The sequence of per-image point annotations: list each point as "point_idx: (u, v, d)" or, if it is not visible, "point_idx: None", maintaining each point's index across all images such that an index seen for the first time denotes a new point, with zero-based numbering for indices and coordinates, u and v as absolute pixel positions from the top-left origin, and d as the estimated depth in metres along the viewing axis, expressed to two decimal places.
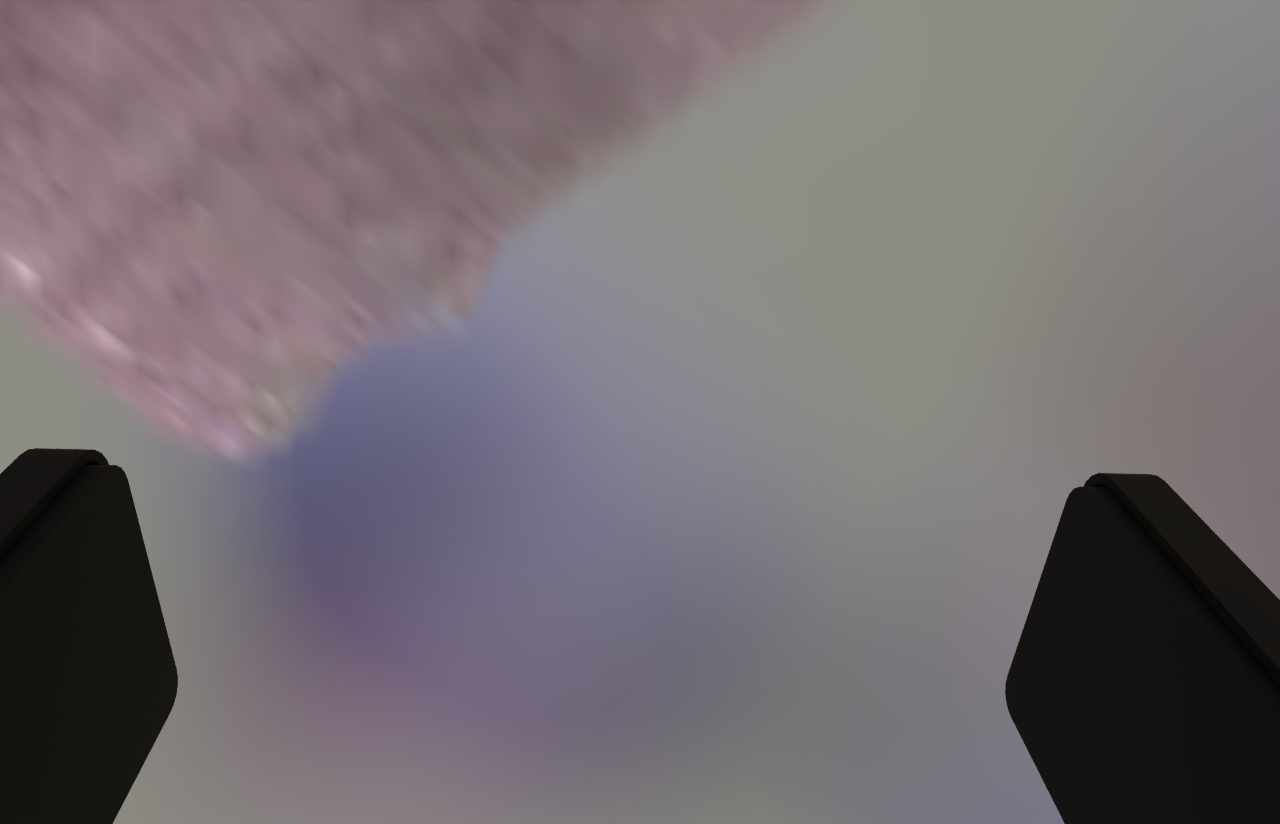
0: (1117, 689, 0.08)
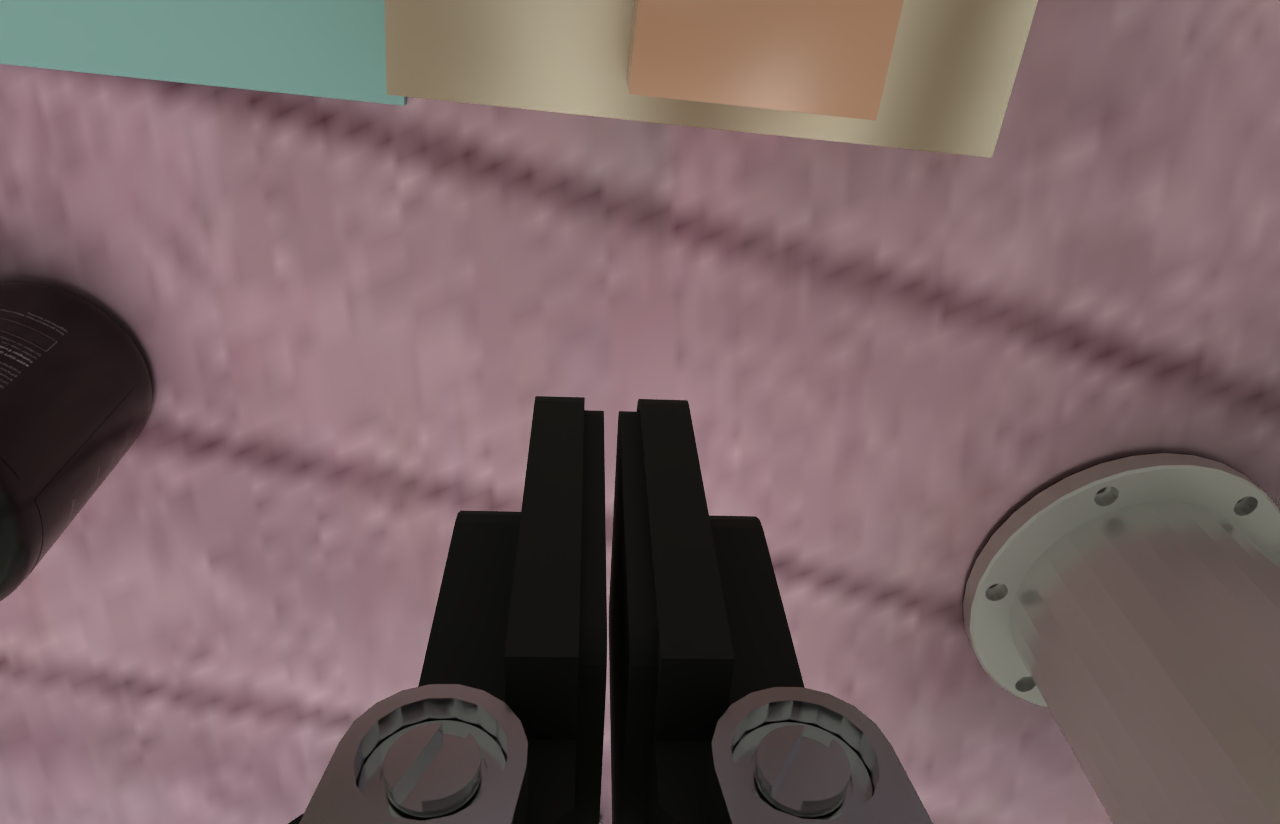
0: (617, 589, 0.09)
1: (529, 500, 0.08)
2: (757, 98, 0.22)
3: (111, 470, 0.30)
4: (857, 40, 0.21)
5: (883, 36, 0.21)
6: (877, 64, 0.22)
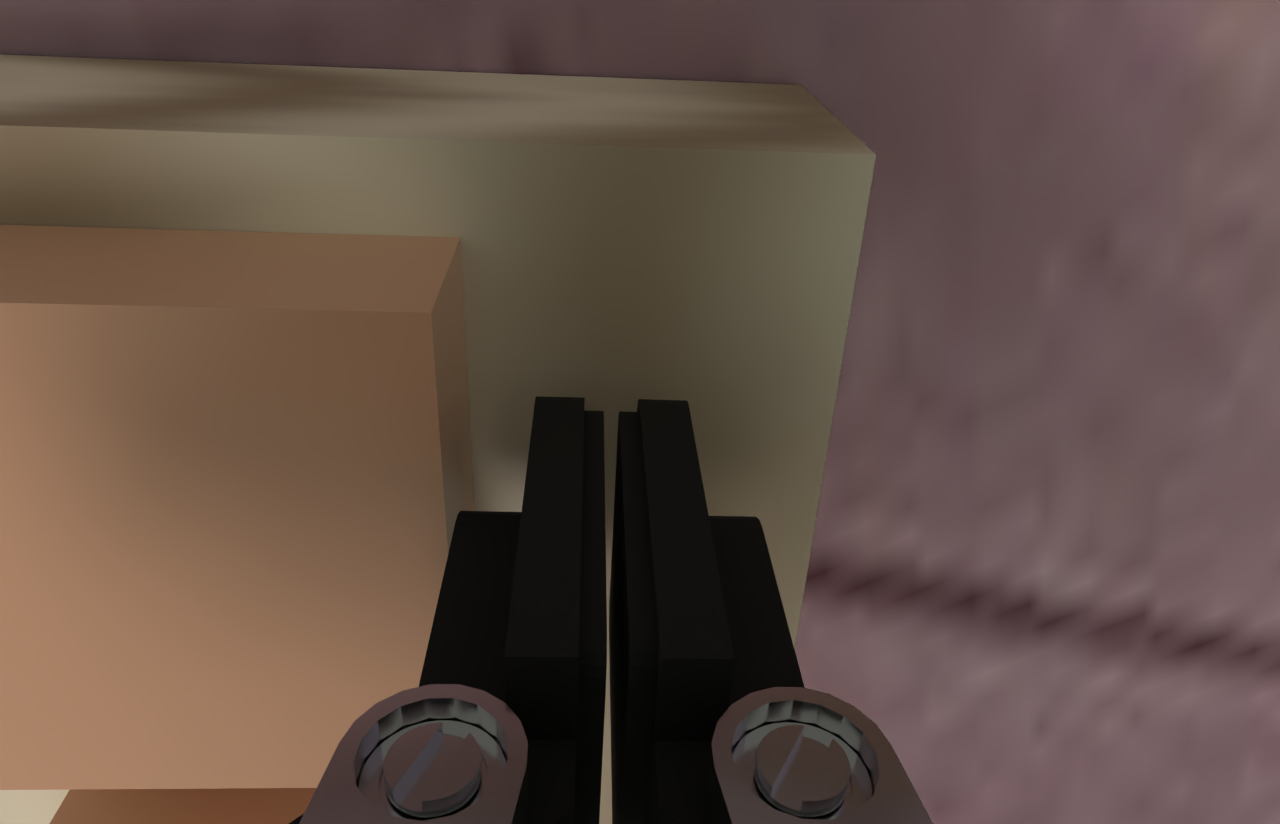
0: (617, 589, 0.09)
1: (529, 500, 0.08)
2: None
3: None
4: None
5: None
6: None
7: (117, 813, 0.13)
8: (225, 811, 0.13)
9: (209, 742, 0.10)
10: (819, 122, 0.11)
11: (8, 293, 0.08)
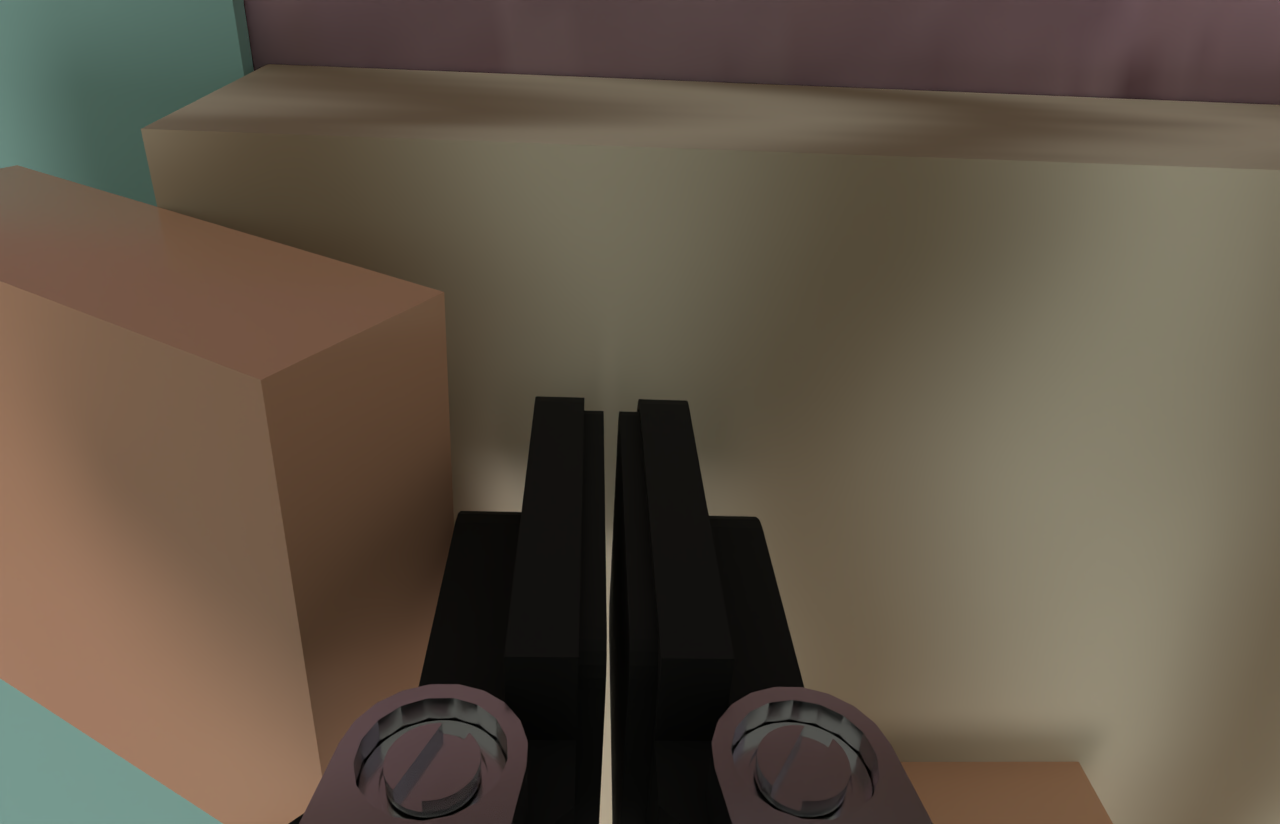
0: (617, 589, 0.09)
1: (529, 500, 0.08)
2: None
3: None
4: None
5: None
6: None
7: None
8: None
9: (143, 734, 0.10)
10: None
11: None
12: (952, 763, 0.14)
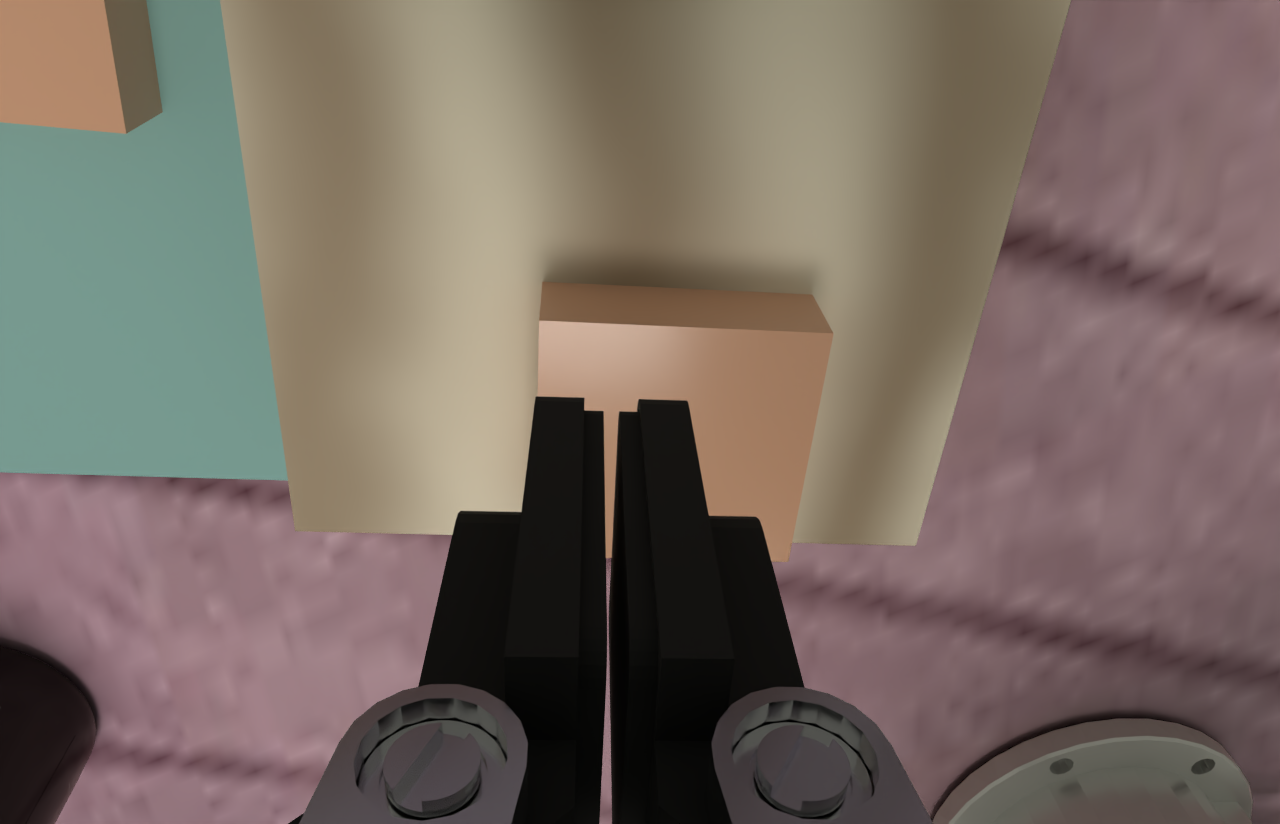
0: (617, 589, 0.09)
1: (529, 500, 0.08)
2: None
3: (55, 820, 0.30)
4: (762, 502, 0.21)
5: (788, 497, 0.21)
6: (784, 518, 0.21)
7: (580, 297, 0.20)
8: (648, 300, 0.20)
9: None
10: None
11: None
12: (725, 290, 0.20)
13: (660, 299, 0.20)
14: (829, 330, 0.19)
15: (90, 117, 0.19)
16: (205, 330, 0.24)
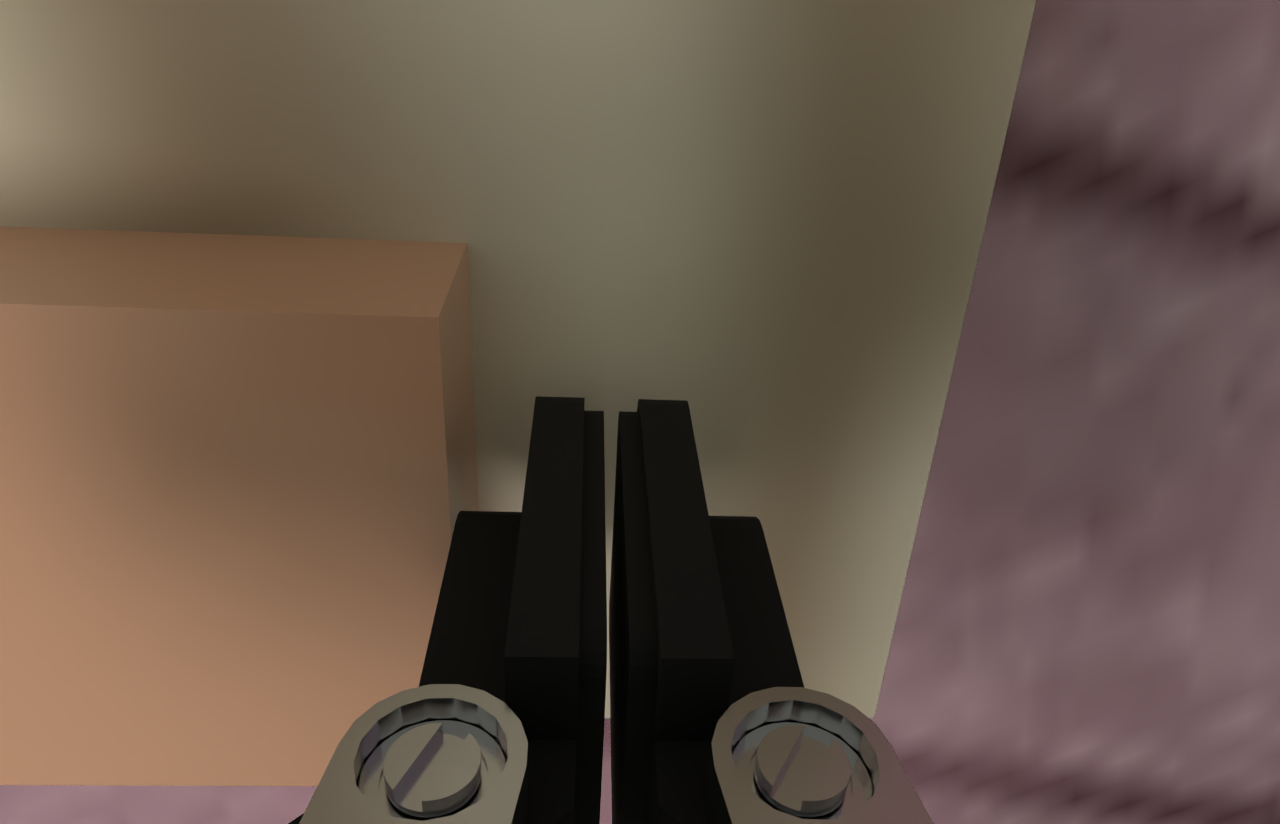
0: (617, 589, 0.09)
1: (529, 500, 0.08)
2: (206, 773, 0.11)
3: None
4: (379, 678, 0.10)
5: None
6: None
7: None
8: (64, 255, 0.09)
9: None
10: None
11: None
12: (277, 236, 0.10)
13: (100, 252, 0.09)
14: (435, 310, 0.08)
15: None
16: None
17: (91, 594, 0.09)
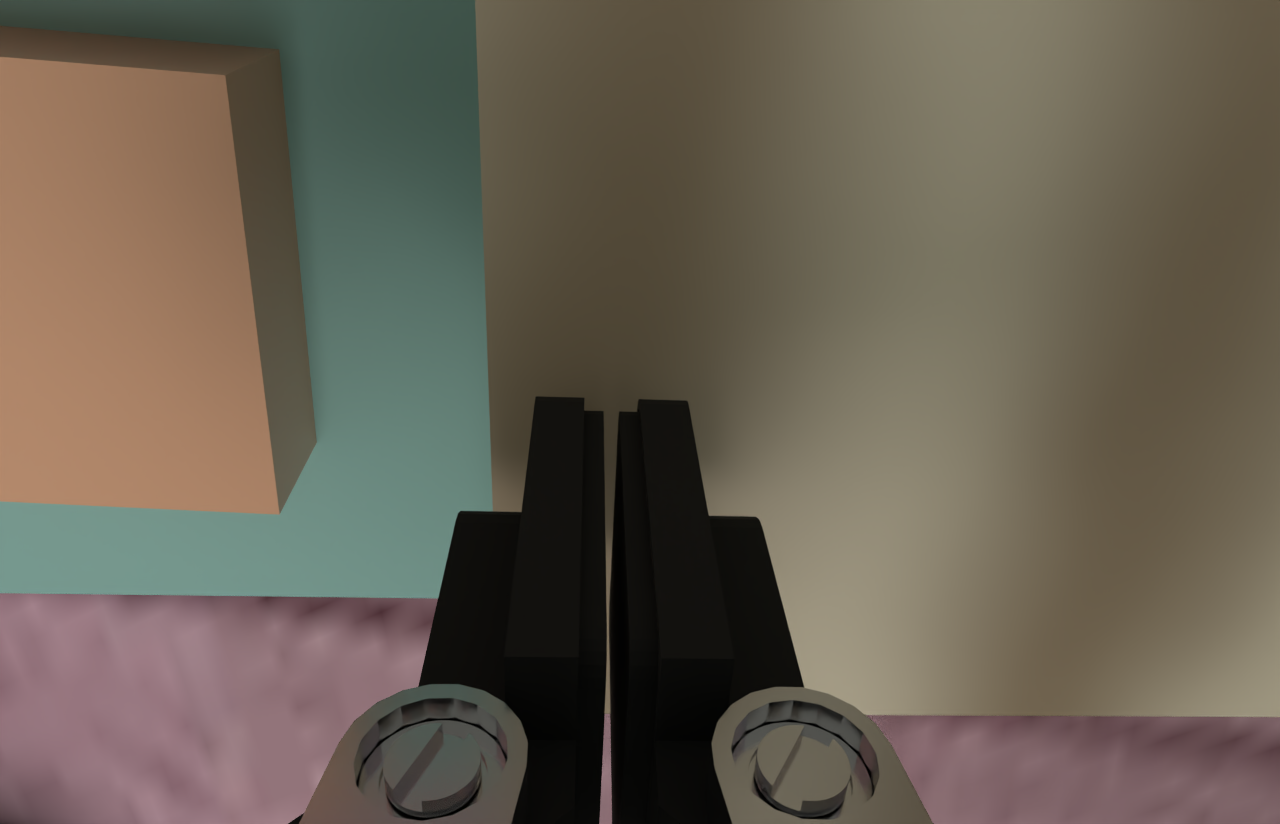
0: (617, 589, 0.09)
1: (529, 500, 0.08)
2: None
3: None
4: None
5: None
6: None
7: (177, 57, 0.11)
8: (50, 47, 0.11)
9: None
10: None
11: None
12: None
13: (20, 46, 0.11)
14: None
15: None
16: (334, 362, 0.14)
17: None
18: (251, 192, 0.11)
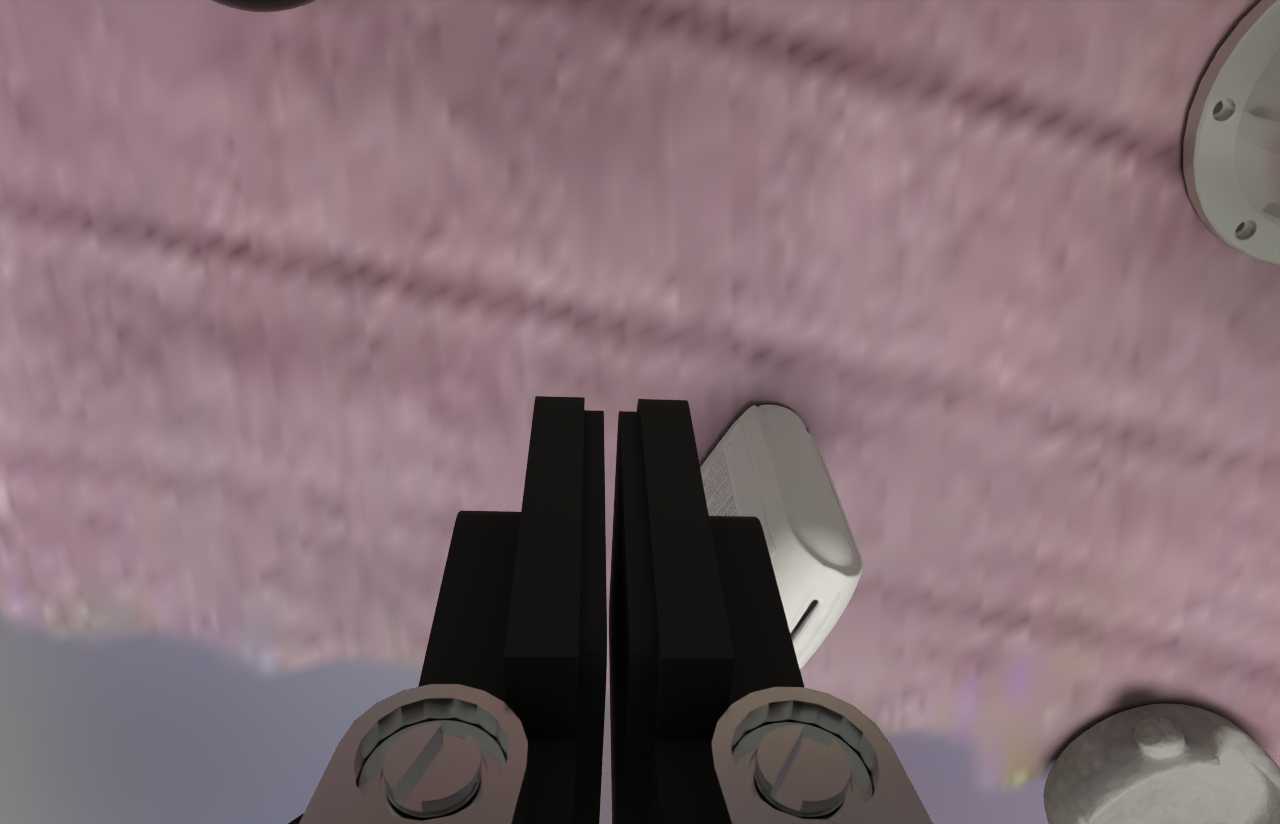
0: (617, 589, 0.09)
1: (529, 500, 0.08)
2: None
3: None
4: None
5: None
6: None
7: None
8: None
9: None
10: None
11: None
12: None
13: None
14: None
15: None
16: None
17: None
18: None
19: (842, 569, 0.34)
